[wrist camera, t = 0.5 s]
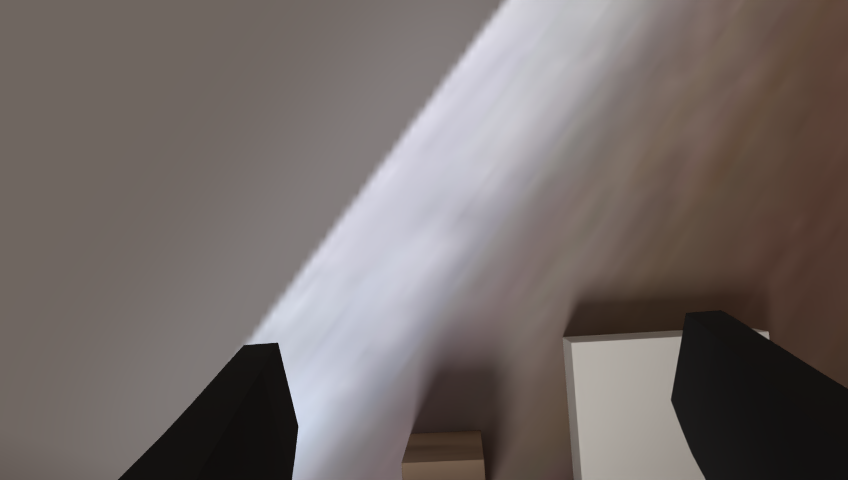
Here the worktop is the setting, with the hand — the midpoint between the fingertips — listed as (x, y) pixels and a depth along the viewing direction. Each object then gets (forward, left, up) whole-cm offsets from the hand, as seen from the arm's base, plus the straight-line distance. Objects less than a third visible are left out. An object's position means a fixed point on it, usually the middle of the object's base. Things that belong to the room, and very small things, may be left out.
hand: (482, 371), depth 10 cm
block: (-10, +2, -23) cm, 25 cm away
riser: (-8, -10, -23) cm, 27 cm away
